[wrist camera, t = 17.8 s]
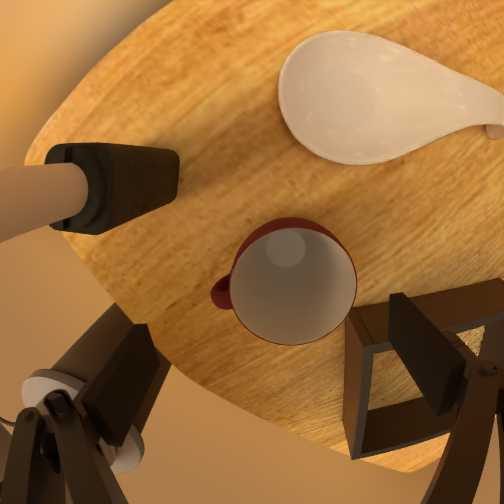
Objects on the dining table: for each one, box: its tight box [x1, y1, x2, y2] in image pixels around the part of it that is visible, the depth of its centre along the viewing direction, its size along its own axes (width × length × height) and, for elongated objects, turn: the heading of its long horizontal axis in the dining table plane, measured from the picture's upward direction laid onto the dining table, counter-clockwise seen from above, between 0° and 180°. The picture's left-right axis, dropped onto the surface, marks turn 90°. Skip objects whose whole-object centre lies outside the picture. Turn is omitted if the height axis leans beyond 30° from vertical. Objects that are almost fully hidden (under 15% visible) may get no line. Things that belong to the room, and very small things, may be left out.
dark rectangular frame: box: [342, 278, 504, 460], centre depth 27 cm, size 21×17×7 cm
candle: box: [0, 142, 179, 243], centre depth 15 cm, size 5×5×25 cm
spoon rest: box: [278, 30, 504, 166], centre depth 20 cm, size 24×12×7 cm, turn 95°
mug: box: [211, 218, 357, 345], centre depth 23 cm, size 10×8×10 cm
